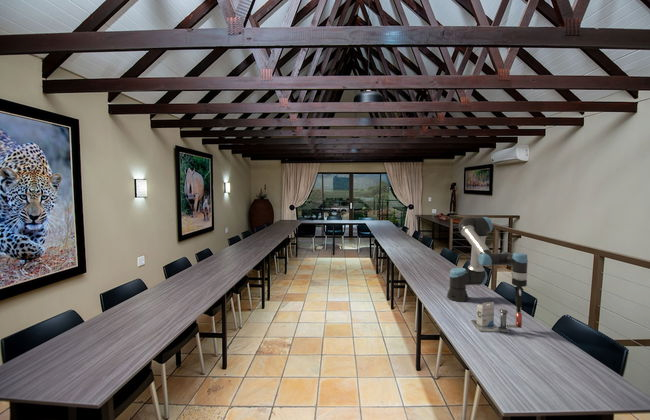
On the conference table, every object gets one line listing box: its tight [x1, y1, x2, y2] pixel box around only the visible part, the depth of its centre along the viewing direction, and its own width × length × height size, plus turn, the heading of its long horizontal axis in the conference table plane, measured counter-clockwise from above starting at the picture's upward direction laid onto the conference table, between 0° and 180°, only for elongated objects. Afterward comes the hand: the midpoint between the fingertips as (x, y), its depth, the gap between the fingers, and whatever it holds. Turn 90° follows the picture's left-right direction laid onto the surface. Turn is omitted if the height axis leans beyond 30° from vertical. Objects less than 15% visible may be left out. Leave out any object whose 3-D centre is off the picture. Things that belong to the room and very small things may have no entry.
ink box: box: [476, 301, 495, 327], centre depth 182 cm, size 9×5×15 cm, turn 102°
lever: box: [506, 312, 523, 329], centre depth 176 cm, size 3×8×8 cm, turn 87°
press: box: [470, 308, 509, 334], centre depth 181 cm, size 14×16×13 cm
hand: (518, 316), depth 180 cm, fingers closed
